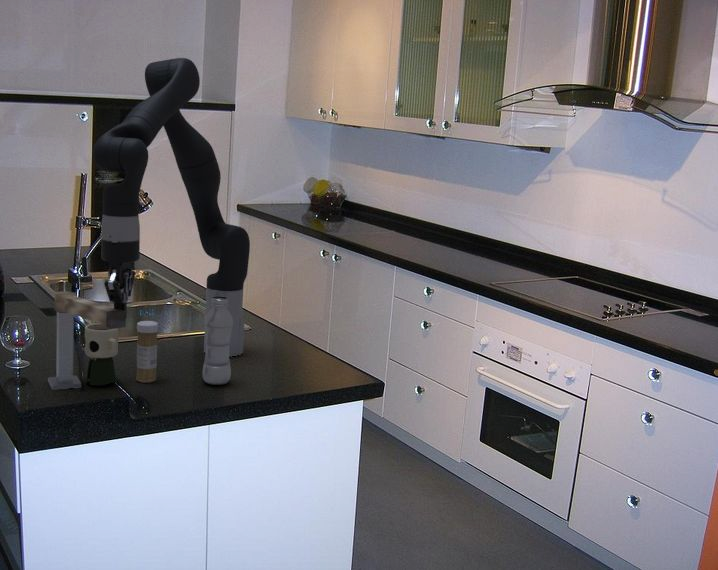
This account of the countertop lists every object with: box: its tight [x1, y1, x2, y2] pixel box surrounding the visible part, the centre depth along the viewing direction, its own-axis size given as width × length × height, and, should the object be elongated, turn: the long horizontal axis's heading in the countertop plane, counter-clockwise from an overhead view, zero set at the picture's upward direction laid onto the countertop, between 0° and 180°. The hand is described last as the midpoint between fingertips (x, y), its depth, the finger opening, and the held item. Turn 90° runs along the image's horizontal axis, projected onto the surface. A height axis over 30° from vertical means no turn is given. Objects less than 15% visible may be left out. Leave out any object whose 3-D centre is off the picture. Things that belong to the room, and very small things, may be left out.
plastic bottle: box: [202, 296, 233, 386], centre depth 195 cm, size 6×7×20 cm
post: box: [47, 311, 82, 391], centre depth 187 cm, size 6×6×16 cm
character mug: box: [83, 322, 119, 386], centre depth 190 cm, size 11×7×13 cm, turn 48°
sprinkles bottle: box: [135, 320, 159, 384], centre depth 195 cm, size 5×5×13 cm
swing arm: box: [53, 291, 127, 329], centre depth 180 cm, size 22×4×4 cm, turn 50°
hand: (120, 319), depth 179 cm, fingers closed
